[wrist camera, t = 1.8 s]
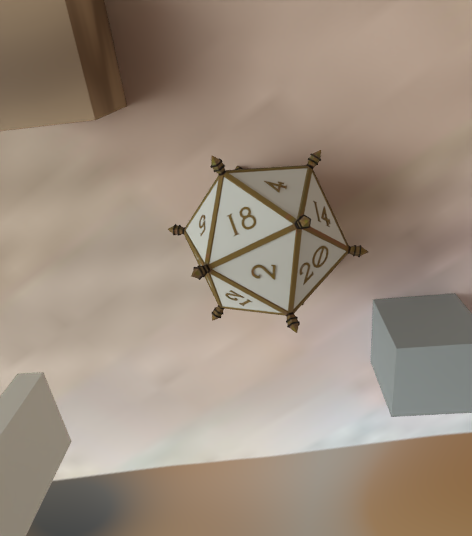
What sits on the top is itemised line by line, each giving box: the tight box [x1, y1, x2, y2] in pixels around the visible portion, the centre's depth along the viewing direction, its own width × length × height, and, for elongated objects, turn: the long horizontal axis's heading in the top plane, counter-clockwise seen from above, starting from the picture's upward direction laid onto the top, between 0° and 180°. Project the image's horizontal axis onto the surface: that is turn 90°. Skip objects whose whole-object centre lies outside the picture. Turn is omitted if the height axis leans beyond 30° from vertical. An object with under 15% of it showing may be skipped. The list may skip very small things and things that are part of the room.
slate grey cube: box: [371, 294, 472, 417], centre depth 25 cm, size 5×5×5 cm
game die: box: [168, 150, 368, 333], centre depth 21 cm, size 9×8×10 cm
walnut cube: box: [0, 0, 127, 131], centre depth 19 cm, size 5×5×5 cm
